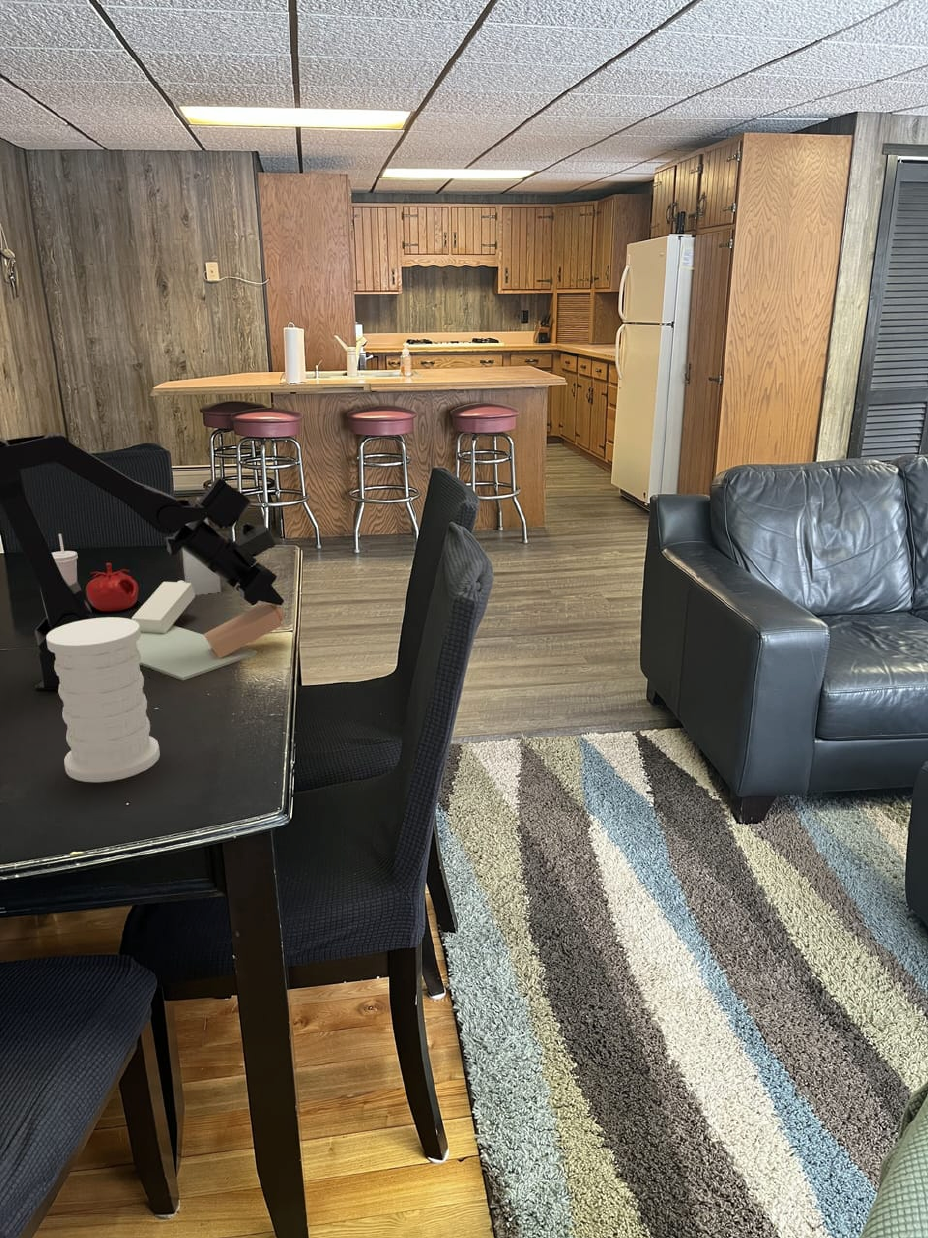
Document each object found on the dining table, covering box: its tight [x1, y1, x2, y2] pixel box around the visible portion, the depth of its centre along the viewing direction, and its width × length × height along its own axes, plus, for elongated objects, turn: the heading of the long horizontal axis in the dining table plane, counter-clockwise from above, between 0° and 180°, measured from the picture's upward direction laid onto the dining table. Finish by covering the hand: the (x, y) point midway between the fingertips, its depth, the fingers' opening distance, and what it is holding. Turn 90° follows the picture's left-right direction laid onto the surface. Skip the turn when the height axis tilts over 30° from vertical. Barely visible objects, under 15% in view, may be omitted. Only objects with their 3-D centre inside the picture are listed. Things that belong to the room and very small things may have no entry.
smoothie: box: [51, 533, 79, 586], centre depth 185 cm, size 6×6×14 cm
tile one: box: [130, 580, 196, 633], centre depth 168 cm, size 3×6×13 cm
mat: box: [136, 624, 258, 681], centre depth 156 cm, size 15×29×1 cm, turn 52°
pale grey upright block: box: [181, 548, 222, 596], centre depth 189 cm, size 4×7×10 cm, turn 113°
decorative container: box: [46, 616, 161, 783], centre depth 113 cm, size 12×12×18 cm
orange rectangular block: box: [203, 602, 287, 659], centre depth 154 cm, size 3×6×13 cm
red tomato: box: [85, 562, 139, 613], centre depth 179 cm, size 10×10×9 cm
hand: (282, 602), depth 156 cm, fingers closed
